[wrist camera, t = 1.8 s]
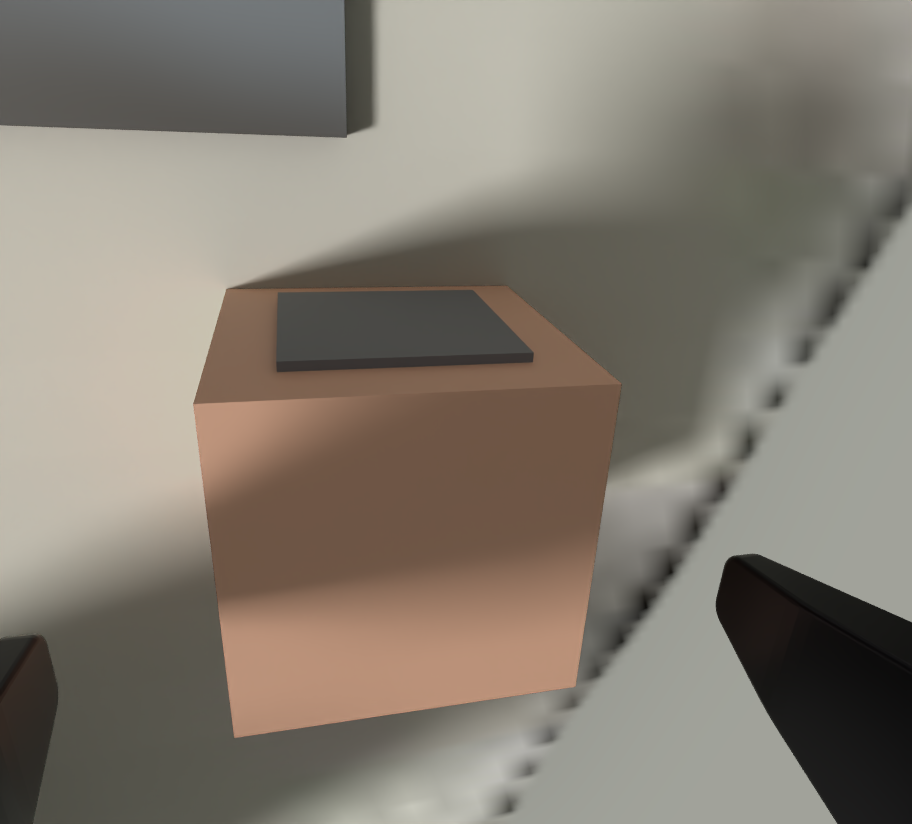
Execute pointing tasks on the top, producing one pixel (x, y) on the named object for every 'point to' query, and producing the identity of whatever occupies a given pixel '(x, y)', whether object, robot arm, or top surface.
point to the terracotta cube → (398, 499)
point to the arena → (175, 65)
